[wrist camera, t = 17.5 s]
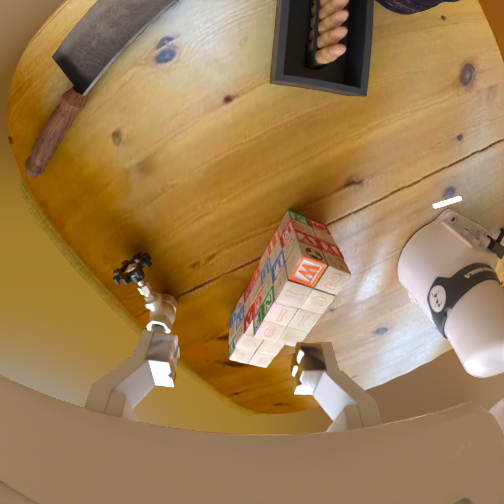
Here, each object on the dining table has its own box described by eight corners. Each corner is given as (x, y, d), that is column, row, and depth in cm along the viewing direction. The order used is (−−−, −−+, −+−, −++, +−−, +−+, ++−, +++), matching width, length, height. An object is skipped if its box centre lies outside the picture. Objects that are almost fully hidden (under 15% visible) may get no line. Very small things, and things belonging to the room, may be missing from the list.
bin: (354, -8, 22) (374, -24, 16) (346, 95, 30) (366, 96, 24) (279, -23, 22) (285, -44, 16) (269, 83, 30) (274, 80, 24)
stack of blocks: (263, 326, 49) (266, 384, 39) (229, 316, 48) (226, 375, 37) (326, 224, 39) (353, 275, 29) (287, 207, 38) (302, 255, 27)
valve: (189, 305, 47) (154, 247, 41) (183, 334, 41) (141, 272, 35) (157, 314, 48) (120, 259, 42) (148, 341, 42) (105, 284, 36)
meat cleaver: (144, -43, 18) (134, -54, 15) (198, -7, 23) (192, -18, 19) (10, 134, 30) (-6, 140, 26) (47, 175, 34) (32, 184, 31)
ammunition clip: (319, 70, 28) (354, 59, 18) (304, 67, 28) (332, 54, 18) (325, -4, 23) (358, -39, 12) (310, -6, 22) (338, -45, 12)
